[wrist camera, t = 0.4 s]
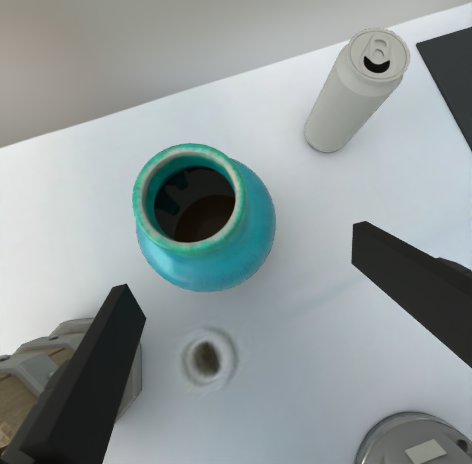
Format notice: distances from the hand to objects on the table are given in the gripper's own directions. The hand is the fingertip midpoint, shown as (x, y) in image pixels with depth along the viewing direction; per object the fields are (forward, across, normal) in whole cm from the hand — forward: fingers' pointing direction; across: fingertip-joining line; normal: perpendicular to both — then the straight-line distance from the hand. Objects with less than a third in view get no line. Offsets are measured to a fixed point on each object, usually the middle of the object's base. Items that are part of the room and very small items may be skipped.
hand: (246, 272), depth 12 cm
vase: (+16, +2, +6) cm, 17 cm away
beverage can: (+22, -17, -4) cm, 28 cm away
